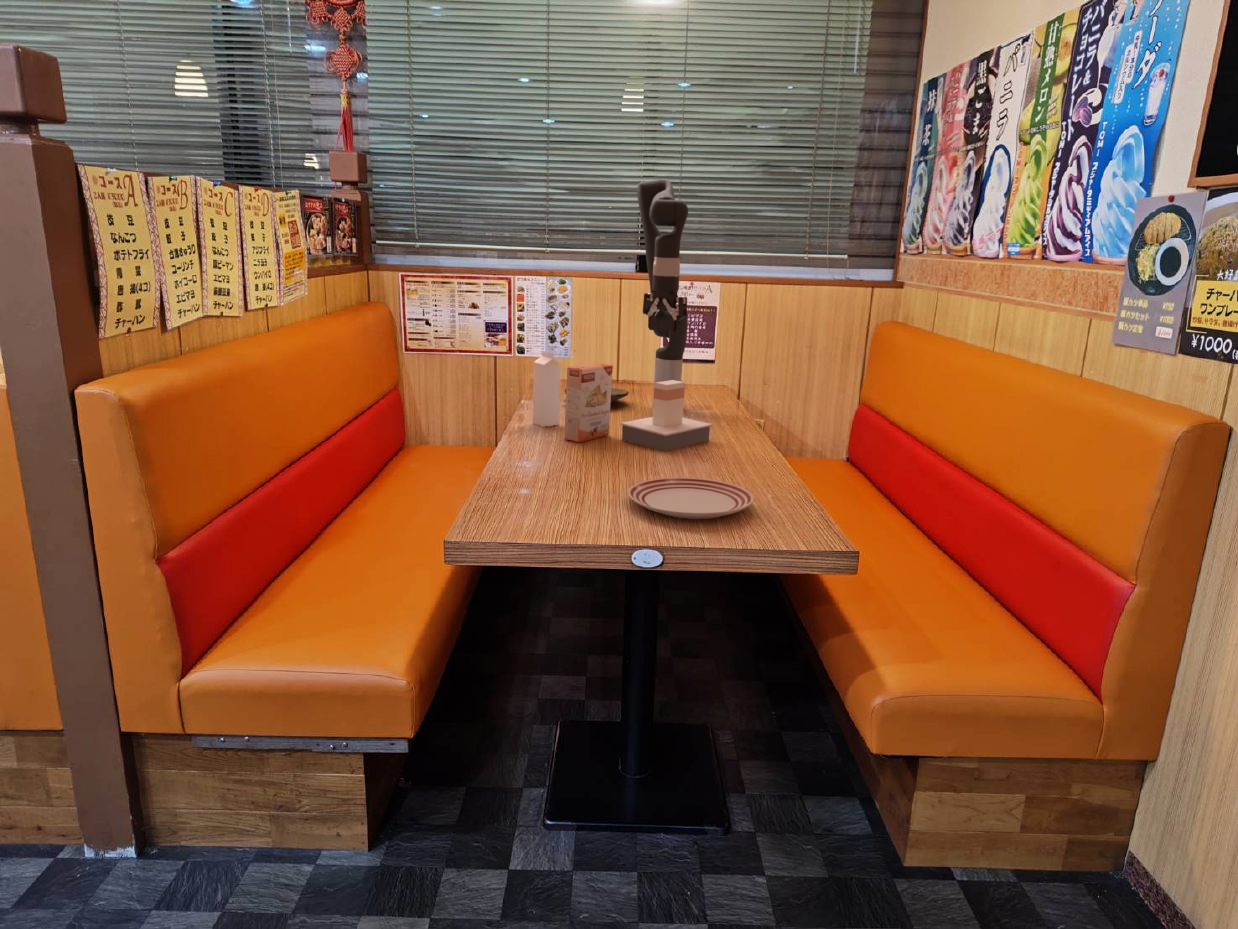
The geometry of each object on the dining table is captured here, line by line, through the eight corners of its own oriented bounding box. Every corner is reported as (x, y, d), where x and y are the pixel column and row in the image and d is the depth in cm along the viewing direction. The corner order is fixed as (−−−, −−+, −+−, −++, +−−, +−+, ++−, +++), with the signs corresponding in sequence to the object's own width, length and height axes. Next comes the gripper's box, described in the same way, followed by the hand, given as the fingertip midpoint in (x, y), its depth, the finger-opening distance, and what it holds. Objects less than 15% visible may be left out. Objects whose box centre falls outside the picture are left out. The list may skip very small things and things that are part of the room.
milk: (542, 427, 247) (543, 354, 241) (532, 423, 251) (533, 351, 245) (559, 425, 250) (561, 353, 244) (549, 421, 255) (550, 350, 249)
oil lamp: (561, 409, 273) (562, 386, 271) (566, 392, 302) (566, 372, 300) (628, 412, 274) (629, 389, 272) (626, 395, 303) (627, 374, 301)
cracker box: (579, 443, 229) (582, 369, 223) (563, 439, 232) (565, 366, 227) (610, 435, 240) (613, 364, 234) (594, 432, 243) (597, 361, 238)
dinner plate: (601, 502, 180) (601, 488, 179) (683, 481, 199) (684, 468, 198) (696, 538, 161) (698, 522, 160) (777, 510, 180) (779, 496, 179)
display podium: (666, 430, 250) (667, 413, 249) (711, 440, 239) (712, 424, 238) (619, 439, 235) (620, 422, 234) (664, 452, 224) (665, 434, 223)
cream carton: (652, 424, 234) (654, 382, 231) (670, 420, 240) (672, 379, 237) (664, 427, 231) (666, 385, 228) (682, 423, 237) (685, 382, 234)
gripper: (638, 272, 233) (636, 330, 238) (678, 276, 224) (675, 335, 229) (654, 271, 239) (652, 327, 243) (694, 275, 230) (691, 333, 234)
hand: (663, 331), depth 236 cm, fingers open, 8 cm apart
